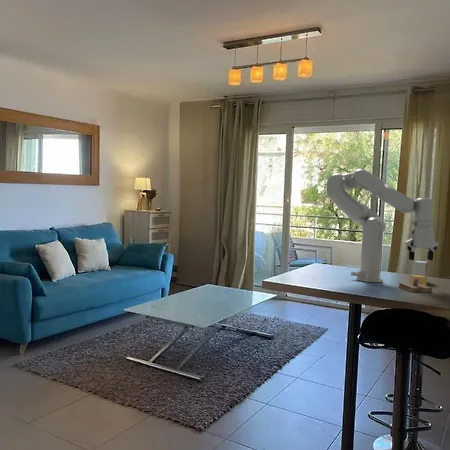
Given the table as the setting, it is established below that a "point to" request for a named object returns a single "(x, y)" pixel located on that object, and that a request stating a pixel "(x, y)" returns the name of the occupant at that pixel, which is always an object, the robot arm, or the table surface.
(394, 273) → the table surface
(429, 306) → the table surface
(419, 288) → the post plinth
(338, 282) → the table surface
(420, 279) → the cap
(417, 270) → the small box
